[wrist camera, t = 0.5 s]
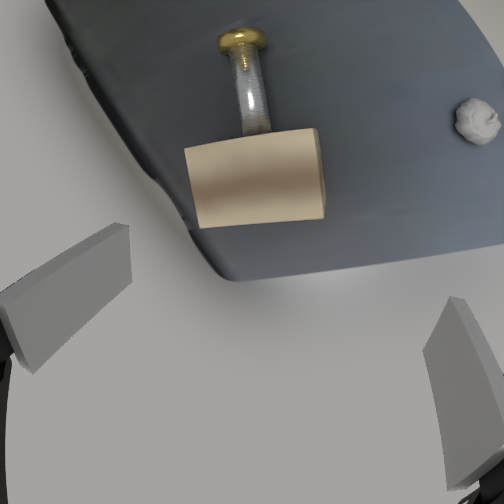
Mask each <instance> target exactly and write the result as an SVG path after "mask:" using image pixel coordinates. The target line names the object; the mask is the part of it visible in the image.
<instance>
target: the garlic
mask: <svg viewBox="0 0 504 504" xmlns="http://www.w3.org/2000/svg"><path fill="white" fill-rule="evenodd" d="M456 116H457V122H456V124H455V127H456V129H457V131H458V132H459V133H460V134H462V135H463V136H464V137H465V139H466V140H468V141H471V142H473V143H474V144H476V145H485V144H488V143H489V142H490V141H491V140H492V139H494V138H495V137H496V136H497V132H498V130H499V129H500V128H501V123H500V121H499V120H498V119H497V117H498V114H497V113H495V110H494V109H493V108H491V107H490V106H489V105H488V104H487V103H486V102H485V101H481V100H480V99H474V98H470V99H468V100H467V101H466V102H464V103H461V106H460V107H459V108H458V109H457V110H456Z"/></svg>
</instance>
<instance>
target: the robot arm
mask: <svg viewBox="0 0 504 504" xmlns="http://www.w3.org/2000/svg"><path fill="white" fill-rule="evenodd" d="M131 283H132V272H131V260H130V242H129V225H124V224H119V223H113V224H111V225H109V226H108V227H106V228H104V229H102V230H101V231H99V232H97V233H95V234H93V235H92V236H90V237H88V238H86V239H85V240H83V241H81V242H80V243H78V244H76V245H74V246H73V247H71V248H69V249H68V250H66V251H64V252H63V253H61V254H59V255H58V256H56V257H54V258H53V259H51V260H50V261H48V262H46V263H45V264H44V265H42V266H40V267H39V268H37V269H35V270H33V271H32V272H30V273H29V274H27V275H26V276H24V277H22V278H21V279H19V280H18V281H17V282H16V283H13V284H12V285H10V286H9V287H7V288H6V289H5V290H3V291H2V292H0V504H8V500H7V499H8V498H7V487H6V471H5V429H6V412H7V399H8V390H9V382H10V375H11V367H12V361H11V359H10V355H11V354H13V353H15V355H16V357H17V359H18V361H19V364H20V365H21V366H22V367H24V368H25V369H26V370H28V371H29V372H30V373H32V374H34V373H35V372H36V371H37V370H38V369H39V368H40V367H41V366H42V365H43V364H44V363H45V362H46V361H47V360H48V359H49V358H50V357H51V356H52V355H53V354H54V353H55V352H56V351H57V350H59V349H60V347H61V346H63V345H64V344H65V343H66V342H67V341H68V340H69V339H70V338H71V337H72V336H73V335H74V334H75V333H76V332H77V331H79V330H80V329H81V328H82V327H83V326H84V325H85V324H86V323H87V322H88V321H89V320H90V319H91V318H92V317H94V316H95V315H96V314H97V313H98V312H99V311H100V310H101V309H102V308H103V307H105V306H106V305H107V304H108V303H109V302H110V301H111V300H112V299H114V298H115V297H116V296H117V295H118V294H119V293H120V292H121V291H123V290H124V289H125V288H126V287H127V286H128V285H129V284H131ZM423 354H424V358H425V362H426V366H427V370H428V374H429V378H430V383H431V387H432V392H433V396H434V401H435V406H436V411H437V417H438V422H439V428H440V434H441V440H442V447H443V455H444V462H445V471H446V481H447V491H452V490H453V491H454V490H462V489H467V488H468V487H469V486H471V485H472V484H474V483H475V482H476V481H478V480H479V484H480V487H479V488H478V489H476V490H475V491H473V492H472V493H471V494H469V495H468V496H466V497H465V498H463V499H462V500H461V501H460V502H459V503H458V504H463V503H464V502H466V501H467V500H469V501H468V503H467V504H504V374H503V373H502V371H501V369H500V367H499V365H498V363H497V360H496V358H495V356H494V354H493V352H492V350H491V348H490V346H489V343H488V342H487V340H486V338H485V336H484V334H483V332H482V330H481V328H480V326H479V324H478V322H477V320H476V319H475V317H474V315H473V313H472V312H471V310H470V308H469V306H468V304H467V303H466V301H465V300H464V299H459V298H455V297H449V299H448V301H447V304H446V305H445V308H444V310H443V312H442V314H441V316H440V318H439V320H438V322H437V324H436V326H435V328H434V330H433V332H432V334H431V336H430V338H429V340H428V342H427V343H426V345H425V347H424V349H423Z"/></svg>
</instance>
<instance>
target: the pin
mask: <svg viewBox="0 0 504 504" xmlns="http://www.w3.org/2000/svg"><path fill="white" fill-rule="evenodd" d="M217 43H218V49H219V53H221V54H224V55H229V56H230V62H231V68H232V74H233V80H234V85H235V91H236V97H237V103H238V109H239V115H240V121H241V127H242V133H243V137H248V136H255V135H261V134H268V133H272V129H271V123H270V117H269V111H268V105H267V99H266V93H265V87H264V82H263V76H262V70H261V65H260V59H259V54H258V50H261V49H263V48H264V47H265V46H266V39H265V34H264V31H263V30H261V29H258V28H238V29H233V30H230V31H227V32H224V33H222V34H221V35H219V36H218V37H217Z"/></svg>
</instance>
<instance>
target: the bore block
mask: <svg viewBox="0 0 504 504" xmlns="http://www.w3.org/2000/svg"><path fill="white" fill-rule="evenodd" d="M184 151H185V156H186V162H187V167H188V172H189V177H190V182H191V187H192V192H193V197H194V202H195V207H196V212H197V217H198V222H199V226H200V228H210V227H221V226H233V225H245V224H257V223H269V222H282V221H296V220H310V219H324V212H325V203H326V191H325V182H324V173H323V165H322V157H321V149H320V142H319V135H318V129H315V128H308V129H299V130H291V131H283V132H275V133H268V134H261V135H255V136H248V137H242V138H236V139H231V140H225V141H220V142H214V143H209V144H204V145H199V146H194V147H190V148H185V149H184Z"/></svg>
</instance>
